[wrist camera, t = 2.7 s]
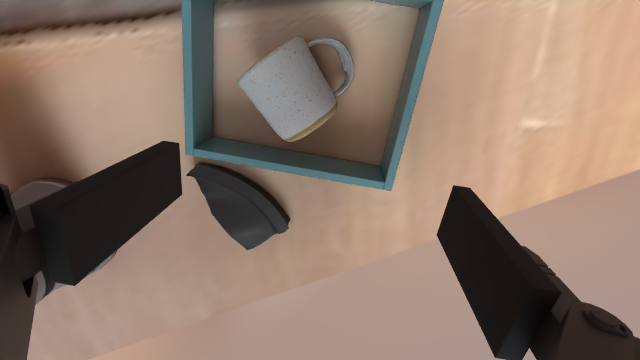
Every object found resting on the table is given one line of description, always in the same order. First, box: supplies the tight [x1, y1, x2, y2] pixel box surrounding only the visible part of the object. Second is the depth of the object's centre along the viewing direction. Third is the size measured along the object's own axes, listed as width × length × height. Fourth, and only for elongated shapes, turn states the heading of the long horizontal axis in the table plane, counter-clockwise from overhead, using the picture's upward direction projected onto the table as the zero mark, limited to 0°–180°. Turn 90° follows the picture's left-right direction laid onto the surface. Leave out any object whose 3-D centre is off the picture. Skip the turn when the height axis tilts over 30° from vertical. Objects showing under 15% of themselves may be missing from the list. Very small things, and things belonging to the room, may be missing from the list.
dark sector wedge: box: [187, 162, 290, 250], centre depth 40 cm, size 8×14×2 cm, turn 36°
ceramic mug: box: [237, 36, 354, 142], centre depth 30 cm, size 11×8×8 cm
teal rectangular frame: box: [182, 0, 444, 191], centre depth 31 cm, size 23×19×5 cm
